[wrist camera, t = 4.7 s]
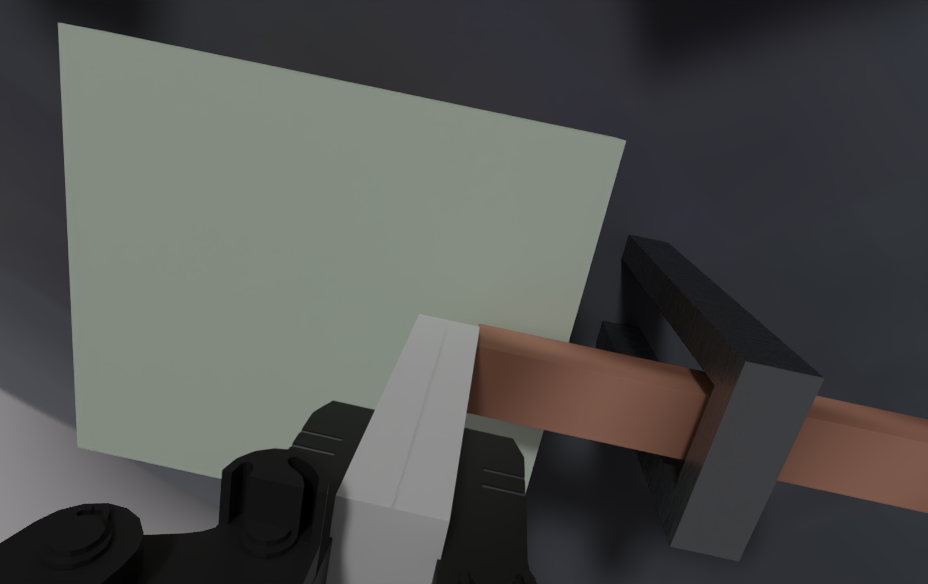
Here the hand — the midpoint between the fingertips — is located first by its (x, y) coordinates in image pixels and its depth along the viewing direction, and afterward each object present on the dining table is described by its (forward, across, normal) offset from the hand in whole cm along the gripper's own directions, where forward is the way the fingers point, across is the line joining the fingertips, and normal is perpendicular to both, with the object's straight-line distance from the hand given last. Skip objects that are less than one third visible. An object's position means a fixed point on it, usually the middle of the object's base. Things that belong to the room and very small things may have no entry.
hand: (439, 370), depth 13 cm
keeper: (+10, +7, 0) cm, 12 cm away
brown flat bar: (+1, +7, 0) cm, 7 cm away
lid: (+4, -4, 0) cm, 5 cm away
